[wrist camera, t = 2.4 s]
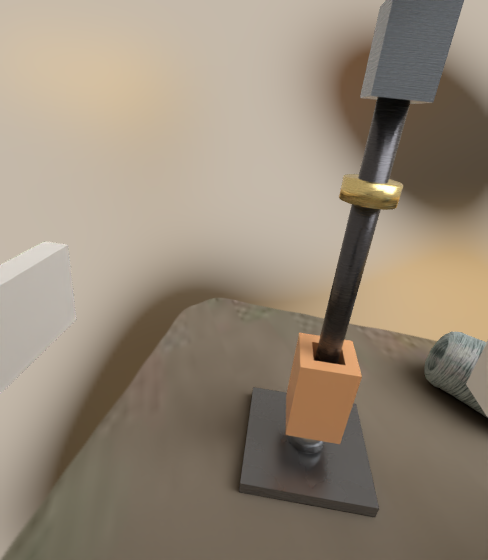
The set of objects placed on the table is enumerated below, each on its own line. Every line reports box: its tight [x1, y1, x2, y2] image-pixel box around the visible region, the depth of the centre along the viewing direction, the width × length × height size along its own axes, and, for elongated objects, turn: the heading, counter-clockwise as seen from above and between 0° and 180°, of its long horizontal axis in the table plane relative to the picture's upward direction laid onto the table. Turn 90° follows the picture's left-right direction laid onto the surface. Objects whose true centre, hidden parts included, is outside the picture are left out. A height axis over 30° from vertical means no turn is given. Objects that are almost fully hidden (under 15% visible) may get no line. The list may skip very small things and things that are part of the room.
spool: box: [425, 332, 488, 418], centre depth 43 cm, size 14×10×10 cm
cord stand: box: [239, 0, 464, 517], centre depth 28 cm, size 12×12×39 cm
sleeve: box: [286, 333, 362, 444], centre depth 33 cm, size 5×5×8 cm
